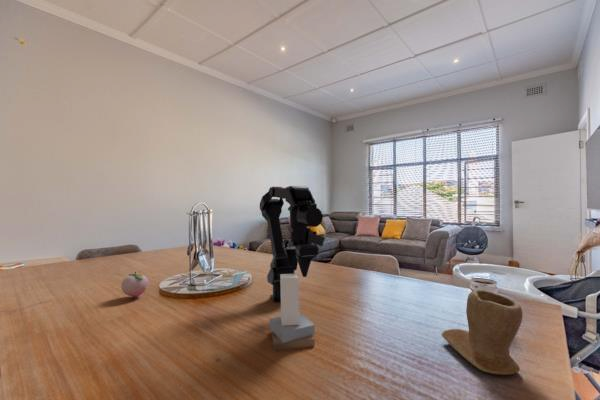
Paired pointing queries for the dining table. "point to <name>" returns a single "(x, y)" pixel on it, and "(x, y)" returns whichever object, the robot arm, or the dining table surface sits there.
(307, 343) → the tower base slab
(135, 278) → the decorative fruit
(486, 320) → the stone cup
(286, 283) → the pillar
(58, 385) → the dining table surface
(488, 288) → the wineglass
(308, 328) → the tower top slab
